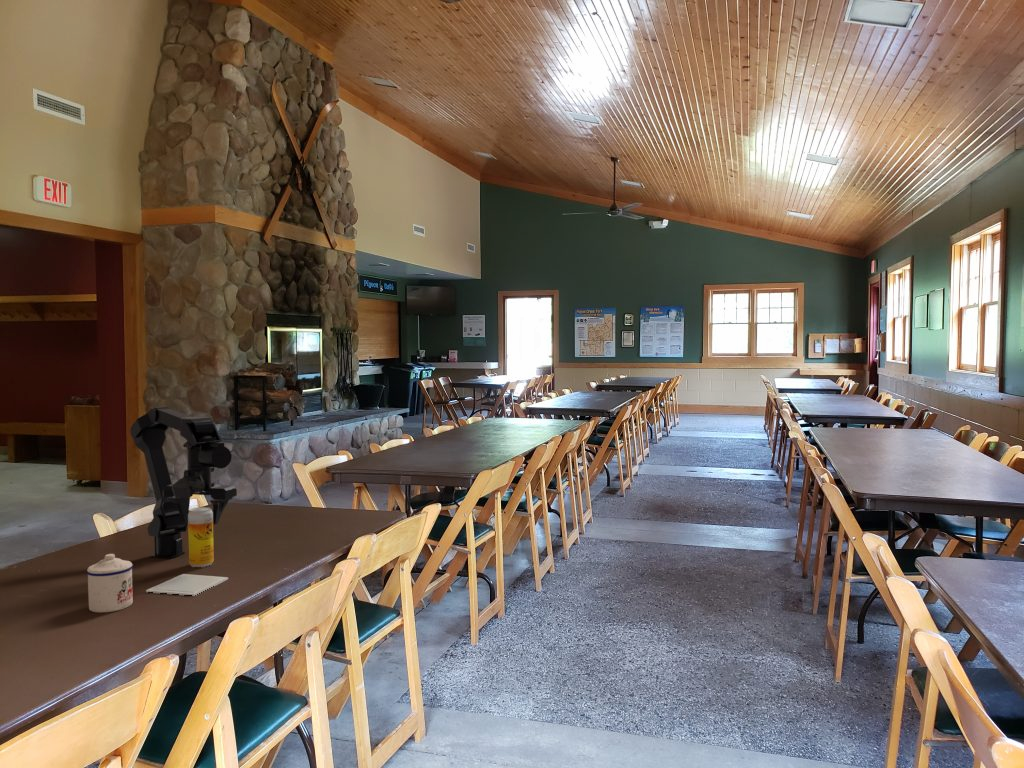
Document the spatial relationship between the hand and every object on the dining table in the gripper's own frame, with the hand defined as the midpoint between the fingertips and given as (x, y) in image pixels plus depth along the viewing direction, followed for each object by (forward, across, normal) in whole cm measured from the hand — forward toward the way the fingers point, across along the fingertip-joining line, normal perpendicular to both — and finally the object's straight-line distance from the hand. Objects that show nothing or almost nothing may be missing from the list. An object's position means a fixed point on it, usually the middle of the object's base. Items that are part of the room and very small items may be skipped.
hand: (200, 523), depth 194 cm
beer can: (+11, 0, 0) cm, 11 cm away
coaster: (+11, +8, -16) cm, 21 cm away
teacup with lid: (+11, 0, -31) cm, 33 cm away
